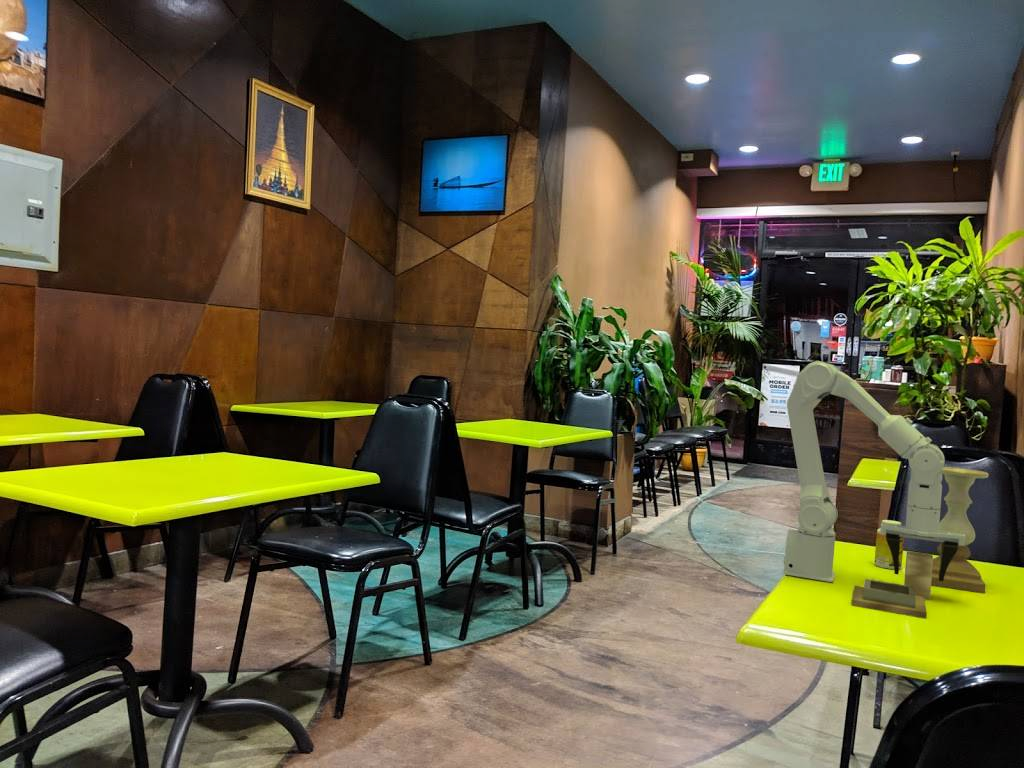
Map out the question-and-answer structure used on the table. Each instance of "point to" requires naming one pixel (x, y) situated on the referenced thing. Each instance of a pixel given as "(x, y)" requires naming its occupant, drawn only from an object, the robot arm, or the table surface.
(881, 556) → the supplement bottle
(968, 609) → the table surface
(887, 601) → the gray square frame
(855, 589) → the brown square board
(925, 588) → the tan rectangular block
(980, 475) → the candle holder
